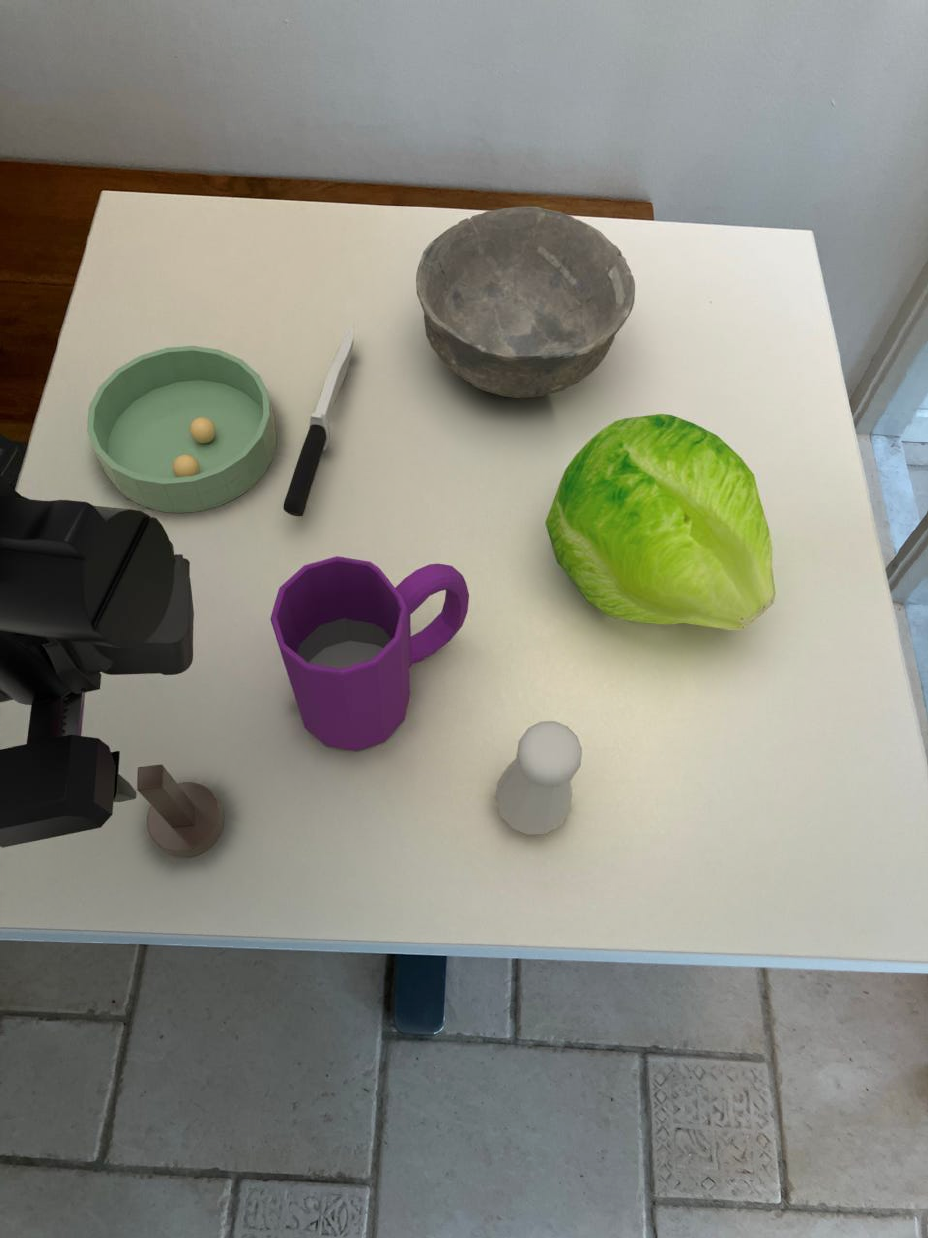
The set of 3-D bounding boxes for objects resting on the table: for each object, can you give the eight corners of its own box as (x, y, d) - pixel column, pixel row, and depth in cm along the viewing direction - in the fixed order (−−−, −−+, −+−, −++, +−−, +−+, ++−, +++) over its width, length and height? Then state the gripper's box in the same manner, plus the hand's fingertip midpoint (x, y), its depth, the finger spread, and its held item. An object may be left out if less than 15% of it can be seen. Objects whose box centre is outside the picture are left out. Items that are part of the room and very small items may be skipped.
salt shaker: (481, 824, 68) (493, 769, 56) (508, 758, 71) (524, 693, 59) (553, 854, 67) (579, 803, 56) (577, 786, 70) (607, 725, 58)
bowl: (467, 262, 98) (472, 180, 89) (642, 324, 94) (665, 244, 86) (381, 389, 89) (376, 310, 80) (572, 462, 85) (589, 388, 76)
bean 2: (192, 449, 83) (186, 432, 81) (192, 429, 85) (186, 412, 82) (218, 447, 84) (213, 430, 82) (218, 427, 85) (212, 410, 83)
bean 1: (175, 487, 81) (169, 471, 79) (176, 466, 82) (169, 450, 80) (202, 485, 82) (196, 468, 79) (202, 464, 83) (196, 448, 81)
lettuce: (657, 709, 75) (705, 656, 61) (503, 543, 81) (515, 459, 66) (790, 594, 79) (865, 518, 65) (635, 442, 84) (673, 342, 70)
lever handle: (153, 862, 66) (106, 821, 56) (155, 794, 68) (110, 744, 58) (224, 853, 66) (190, 810, 56) (223, 786, 69) (190, 734, 59)
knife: (346, 338, 92) (342, 300, 87) (363, 340, 92) (360, 302, 87) (286, 536, 80) (277, 503, 75) (305, 539, 80) (298, 506, 75)
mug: (276, 688, 73) (243, 597, 59) (430, 594, 77) (432, 491, 64) (336, 776, 69) (316, 700, 56) (494, 672, 74) (509, 579, 61)
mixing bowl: (98, 521, 80) (81, 490, 76) (107, 386, 87) (92, 352, 83) (280, 504, 81) (272, 474, 77) (273, 373, 89) (265, 340, 85)
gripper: (128, 737, 36) (263, 849, 49) (148, 410, 46) (255, 576, 59) (-131, 791, 36) (71, 888, 50) (-56, 457, 46) (96, 611, 59)
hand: (132, 727), depth 54 cm, fingers open, 9 cm apart
